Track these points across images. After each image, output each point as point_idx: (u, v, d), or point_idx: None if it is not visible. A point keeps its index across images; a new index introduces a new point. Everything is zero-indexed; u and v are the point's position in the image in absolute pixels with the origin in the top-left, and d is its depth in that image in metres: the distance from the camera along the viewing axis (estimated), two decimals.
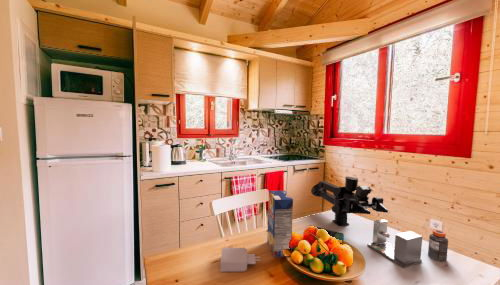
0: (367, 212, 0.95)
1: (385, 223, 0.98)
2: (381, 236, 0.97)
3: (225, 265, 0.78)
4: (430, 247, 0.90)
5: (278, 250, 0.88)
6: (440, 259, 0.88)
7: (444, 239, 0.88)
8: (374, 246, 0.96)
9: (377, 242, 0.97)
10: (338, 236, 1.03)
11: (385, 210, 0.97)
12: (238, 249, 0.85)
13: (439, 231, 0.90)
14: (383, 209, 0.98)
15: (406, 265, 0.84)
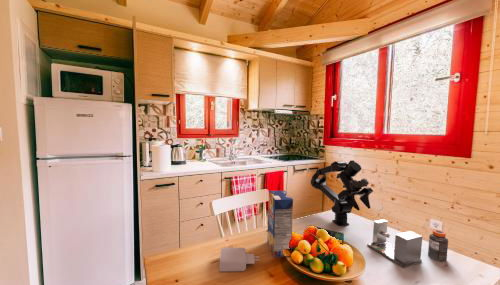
0: (357, 208, 1.05)
1: (385, 223, 0.98)
2: (381, 236, 0.97)
3: (224, 265, 0.78)
4: (430, 247, 0.90)
5: (278, 250, 0.88)
6: (440, 259, 0.88)
7: (444, 239, 0.88)
8: (374, 246, 0.96)
9: (377, 242, 0.97)
10: (338, 236, 1.03)
11: (368, 206, 1.08)
12: (237, 249, 0.85)
13: (439, 231, 0.90)
14: (367, 204, 1.08)
15: (406, 265, 0.84)
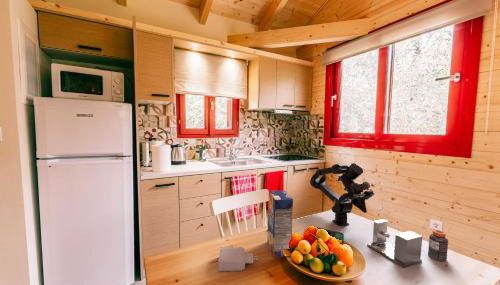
0: (363, 211, 1.06)
1: (385, 223, 0.98)
2: (381, 236, 0.97)
3: (223, 264, 0.79)
4: (430, 247, 0.90)
5: (278, 250, 0.88)
6: (440, 259, 0.88)
7: (444, 239, 0.88)
8: (374, 246, 0.96)
9: (377, 242, 0.97)
10: (338, 236, 1.03)
11: None
12: (236, 249, 0.86)
13: (439, 231, 0.90)
14: None
15: (406, 265, 0.84)
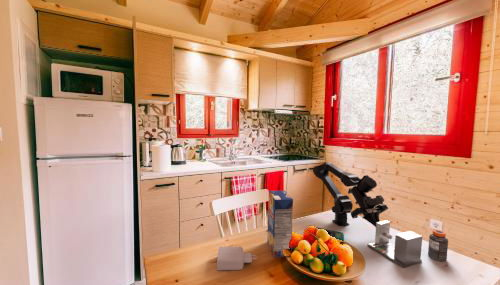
0: None
1: (387, 224, 0.97)
2: (383, 237, 0.96)
3: (221, 263, 0.79)
4: (430, 247, 0.90)
5: (278, 250, 0.88)
6: (440, 259, 0.88)
7: (444, 239, 0.88)
8: (374, 246, 0.96)
9: (379, 243, 0.96)
10: (339, 235, 1.03)
11: None
12: (234, 248, 0.86)
13: (439, 231, 0.90)
14: None
15: (406, 265, 0.84)
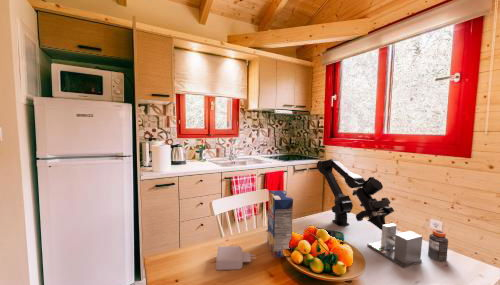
0: None
1: (394, 227, 0.94)
2: (390, 241, 0.94)
3: (221, 263, 0.79)
4: (430, 247, 0.90)
5: (278, 250, 0.88)
6: (440, 259, 0.88)
7: (444, 239, 0.88)
8: (374, 246, 0.96)
9: (386, 247, 0.93)
10: (339, 235, 1.03)
11: None
12: (233, 248, 0.86)
13: (439, 231, 0.90)
14: None
15: (406, 265, 0.84)
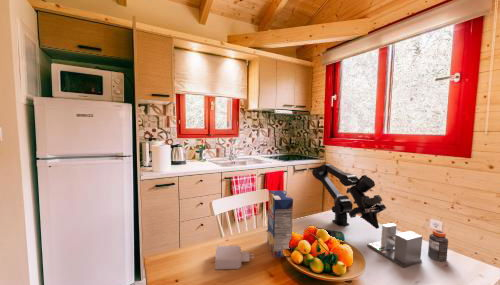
0: (375, 226, 1.00)
1: (394, 227, 0.94)
2: (390, 241, 0.94)
3: (219, 262, 0.80)
4: (430, 247, 0.90)
5: (278, 250, 0.88)
6: (440, 259, 0.88)
7: (444, 239, 0.88)
8: (374, 246, 0.96)
9: (386, 247, 0.93)
10: (339, 235, 1.04)
11: None
12: (232, 247, 0.87)
13: (439, 231, 0.90)
14: None
15: (406, 265, 0.84)
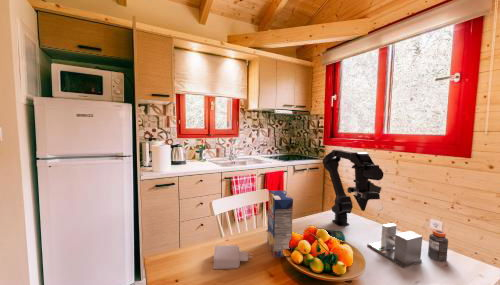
0: (363, 209, 1.04)
1: (394, 227, 0.94)
2: (390, 241, 0.94)
3: (218, 262, 0.80)
4: (430, 247, 0.90)
5: (278, 250, 0.88)
6: (440, 259, 0.88)
7: (444, 239, 0.88)
8: (374, 246, 0.96)
9: (386, 247, 0.93)
10: (339, 235, 1.04)
11: None
12: (230, 247, 0.87)
13: (439, 231, 0.90)
14: None
15: (406, 265, 0.84)
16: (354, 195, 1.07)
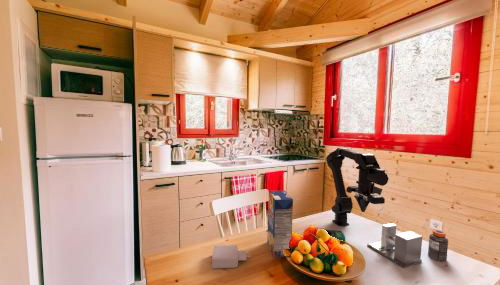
0: (363, 210, 1.04)
1: (394, 227, 0.94)
2: (390, 241, 0.94)
3: (216, 262, 0.80)
4: (430, 247, 0.90)
5: (278, 250, 0.88)
6: (440, 259, 0.88)
7: (444, 239, 0.88)
8: (374, 246, 0.96)
9: (386, 247, 0.93)
10: (339, 234, 1.04)
11: None
12: (229, 246, 0.87)
13: (439, 231, 0.90)
14: None
15: (406, 265, 0.84)
16: (355, 196, 1.05)
